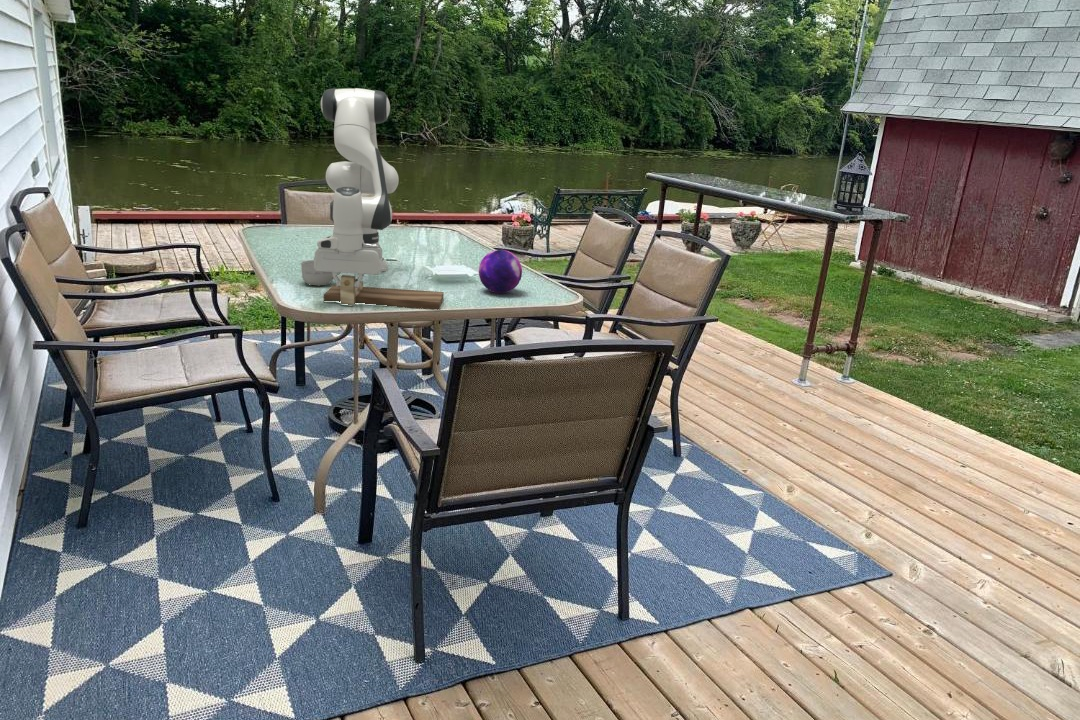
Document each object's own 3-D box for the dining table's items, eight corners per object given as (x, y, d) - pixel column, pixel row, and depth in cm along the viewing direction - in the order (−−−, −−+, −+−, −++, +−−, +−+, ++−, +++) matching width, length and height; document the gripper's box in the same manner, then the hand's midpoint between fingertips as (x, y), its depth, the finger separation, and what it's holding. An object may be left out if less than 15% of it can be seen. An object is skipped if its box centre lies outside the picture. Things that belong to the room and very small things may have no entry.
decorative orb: (488, 285, 291) (490, 244, 286) (527, 291, 286) (529, 249, 281) (470, 293, 277) (472, 250, 273) (510, 300, 272) (513, 256, 268)
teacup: (301, 288, 267) (301, 264, 265) (301, 280, 277) (300, 257, 275) (344, 288, 271) (344, 264, 269) (342, 281, 281) (342, 258, 279)
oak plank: (333, 292, 265) (333, 284, 264) (443, 299, 266) (443, 291, 266) (323, 302, 252) (323, 294, 251) (439, 309, 253) (439, 302, 252)
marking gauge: (350, 293, 264) (350, 266, 261) (363, 294, 264) (363, 267, 262) (340, 306, 248) (340, 277, 245) (353, 306, 248) (353, 278, 246)
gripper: (384, 242, 248) (383, 286, 252) (317, 238, 247) (317, 282, 251) (380, 246, 242) (380, 291, 246) (311, 241, 241) (312, 287, 245)
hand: (348, 286), depth 248 cm, fingers closed on marking gauge, 4 cm apart
